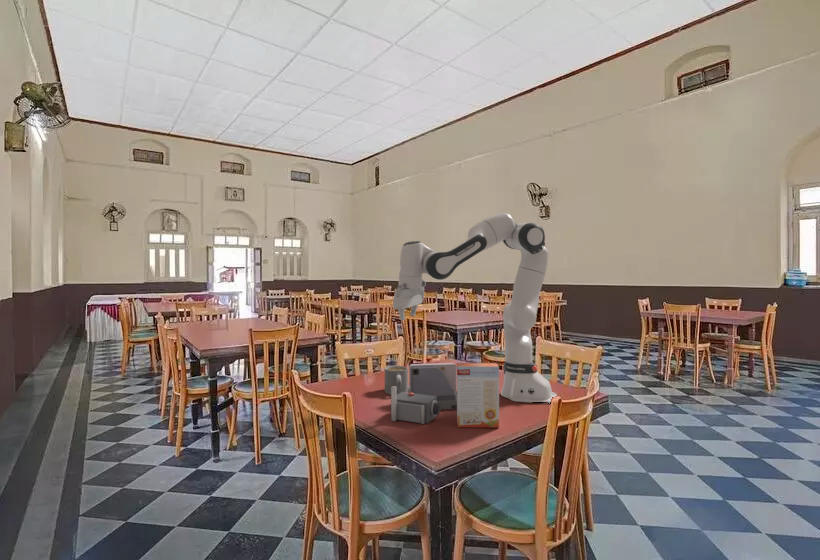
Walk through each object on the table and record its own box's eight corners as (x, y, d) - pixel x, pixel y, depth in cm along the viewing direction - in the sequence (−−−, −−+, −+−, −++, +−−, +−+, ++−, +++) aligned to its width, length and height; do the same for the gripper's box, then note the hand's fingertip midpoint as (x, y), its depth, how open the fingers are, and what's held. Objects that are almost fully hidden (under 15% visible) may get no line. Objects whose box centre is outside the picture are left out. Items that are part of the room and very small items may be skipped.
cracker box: (496, 422, 152) (497, 362, 151) (499, 428, 146) (499, 366, 145) (456, 421, 152) (456, 361, 152) (457, 427, 146) (457, 365, 146)
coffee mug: (385, 388, 194) (385, 365, 194) (407, 388, 194) (407, 365, 194) (383, 397, 181) (383, 373, 181) (407, 397, 181) (407, 373, 181)
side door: (425, 422, 150) (424, 388, 150) (421, 425, 148) (421, 391, 148) (394, 418, 155) (393, 385, 155) (390, 420, 153) (390, 387, 152)
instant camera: (458, 395, 184) (458, 360, 183) (463, 412, 163) (463, 372, 162) (407, 395, 184) (407, 360, 184) (406, 411, 163) (406, 371, 163)
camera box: (441, 416, 158) (441, 394, 158) (433, 424, 149) (433, 401, 149) (401, 410, 164) (401, 389, 164) (390, 418, 156) (390, 396, 156)
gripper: (405, 286, 159) (402, 323, 161) (427, 281, 177) (425, 315, 179) (390, 284, 162) (387, 320, 163) (413, 279, 180) (411, 312, 182)
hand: (407, 317), depth 171 cm, fingers open, 8 cm apart
